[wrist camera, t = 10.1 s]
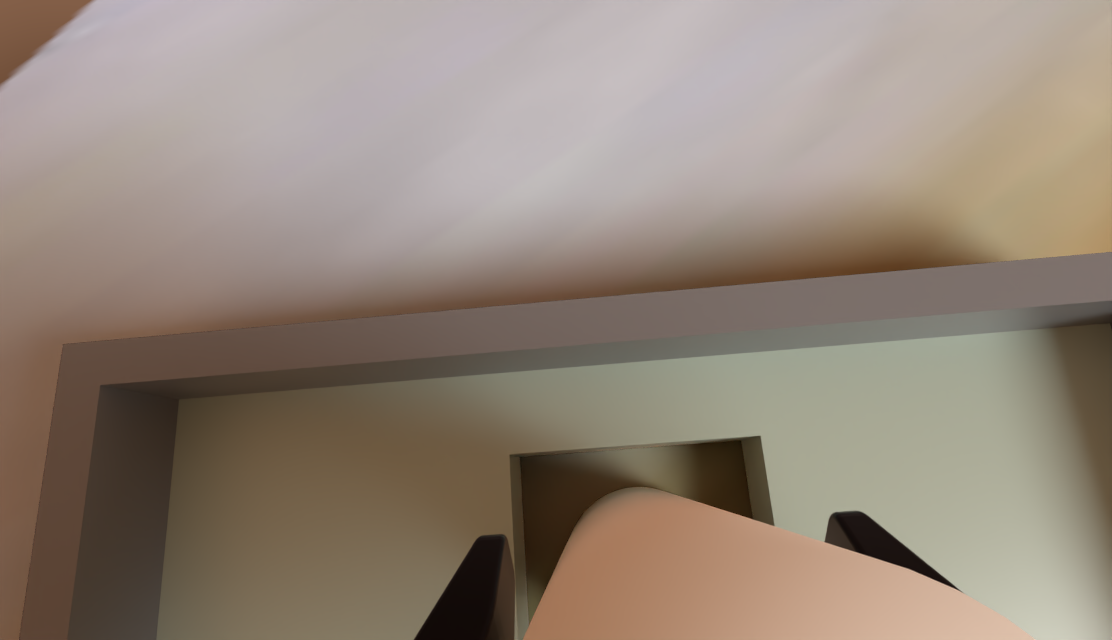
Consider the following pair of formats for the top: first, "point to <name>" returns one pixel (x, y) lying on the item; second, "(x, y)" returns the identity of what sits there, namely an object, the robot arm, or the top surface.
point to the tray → (577, 445)
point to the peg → (737, 583)
